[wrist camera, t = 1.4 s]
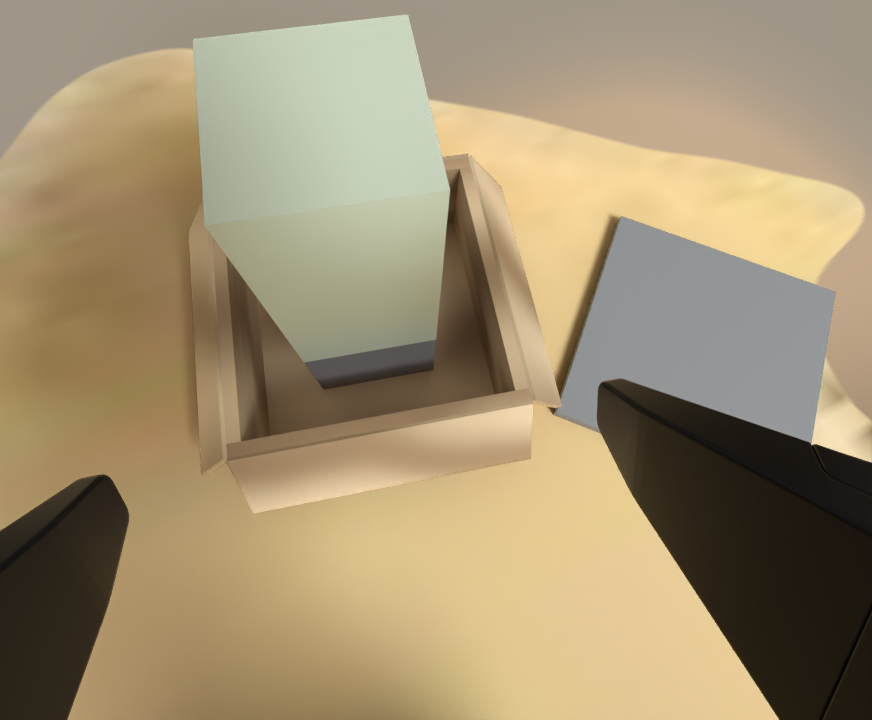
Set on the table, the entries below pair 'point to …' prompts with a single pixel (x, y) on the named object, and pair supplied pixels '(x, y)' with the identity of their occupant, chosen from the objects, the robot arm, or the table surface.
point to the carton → (381, 399)
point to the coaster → (701, 332)
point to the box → (328, 189)
